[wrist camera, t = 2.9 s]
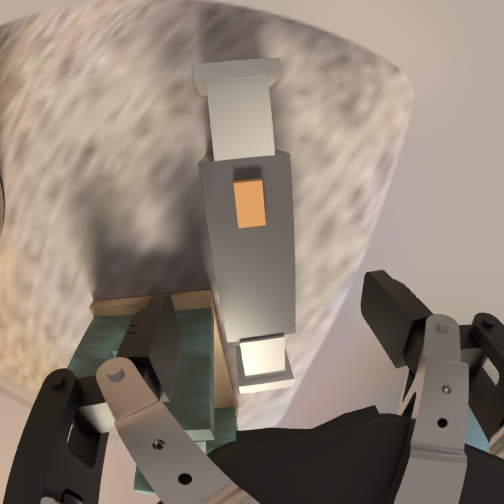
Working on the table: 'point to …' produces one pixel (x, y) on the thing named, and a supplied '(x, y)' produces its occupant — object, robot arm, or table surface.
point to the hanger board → (186, 369)
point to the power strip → (249, 218)
